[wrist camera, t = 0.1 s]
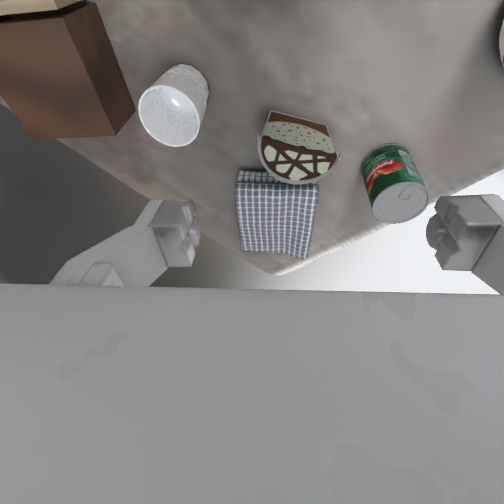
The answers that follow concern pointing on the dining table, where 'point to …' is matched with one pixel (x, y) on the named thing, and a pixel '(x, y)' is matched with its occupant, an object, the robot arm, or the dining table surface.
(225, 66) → the dining table surface
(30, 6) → the drawer
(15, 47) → the cabinet
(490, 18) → the dining table surface
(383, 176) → the canned tomato
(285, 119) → the food container
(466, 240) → the robot arm
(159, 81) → the white cup
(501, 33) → the milk container
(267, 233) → the towel
